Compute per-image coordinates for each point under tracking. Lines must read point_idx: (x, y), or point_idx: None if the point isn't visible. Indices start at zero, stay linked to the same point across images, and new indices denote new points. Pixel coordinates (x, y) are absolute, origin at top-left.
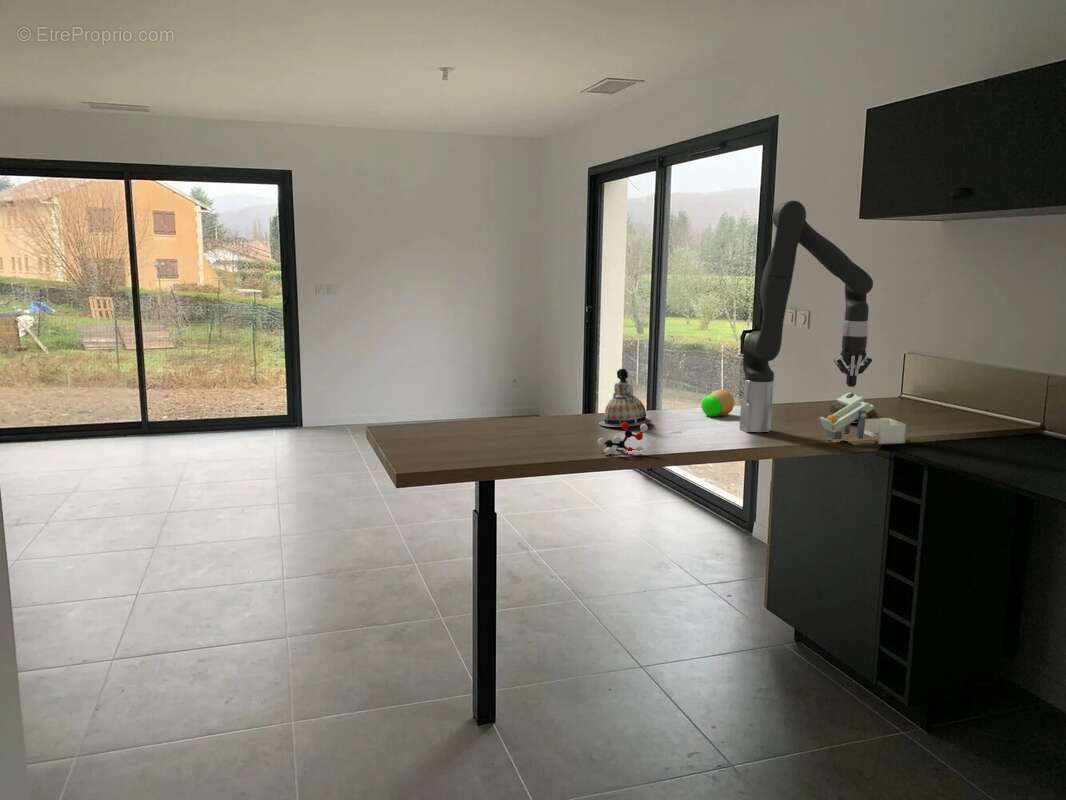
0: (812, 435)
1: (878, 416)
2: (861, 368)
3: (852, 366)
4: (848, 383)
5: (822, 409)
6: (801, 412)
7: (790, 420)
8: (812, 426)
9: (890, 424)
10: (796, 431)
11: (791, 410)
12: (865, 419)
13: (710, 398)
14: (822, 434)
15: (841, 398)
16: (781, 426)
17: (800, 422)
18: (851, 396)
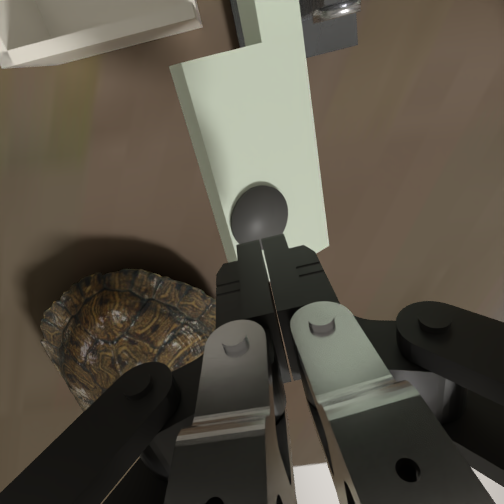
0: (446, 49)
1: (61, 311)
2: (127, 459)
3: (395, 432)
4: (315, 253)
5: None
6: (303, 416)
7: (394, 318)
8: (356, 236)
9: (11, 23)
10: (475, 135)
11: None
12: (183, 4)
13: None
14: (384, 79)
15: (307, 232)
16: (484, 223)
17: (372, 294)
18: (259, 186)
